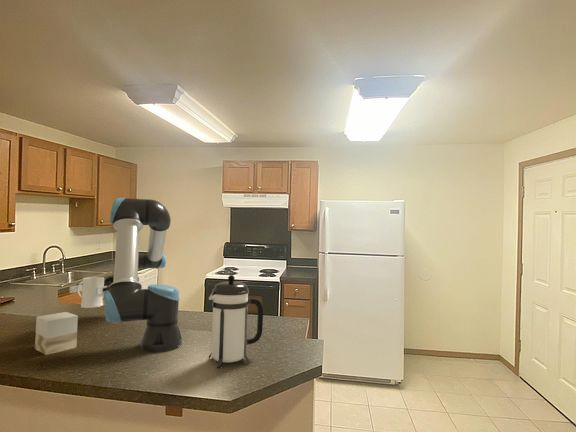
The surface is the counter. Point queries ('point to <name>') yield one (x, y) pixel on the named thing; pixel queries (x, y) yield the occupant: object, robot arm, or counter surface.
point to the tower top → (56, 324)
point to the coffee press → (232, 321)
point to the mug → (91, 292)
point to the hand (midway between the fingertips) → (83, 290)
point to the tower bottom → (55, 343)
